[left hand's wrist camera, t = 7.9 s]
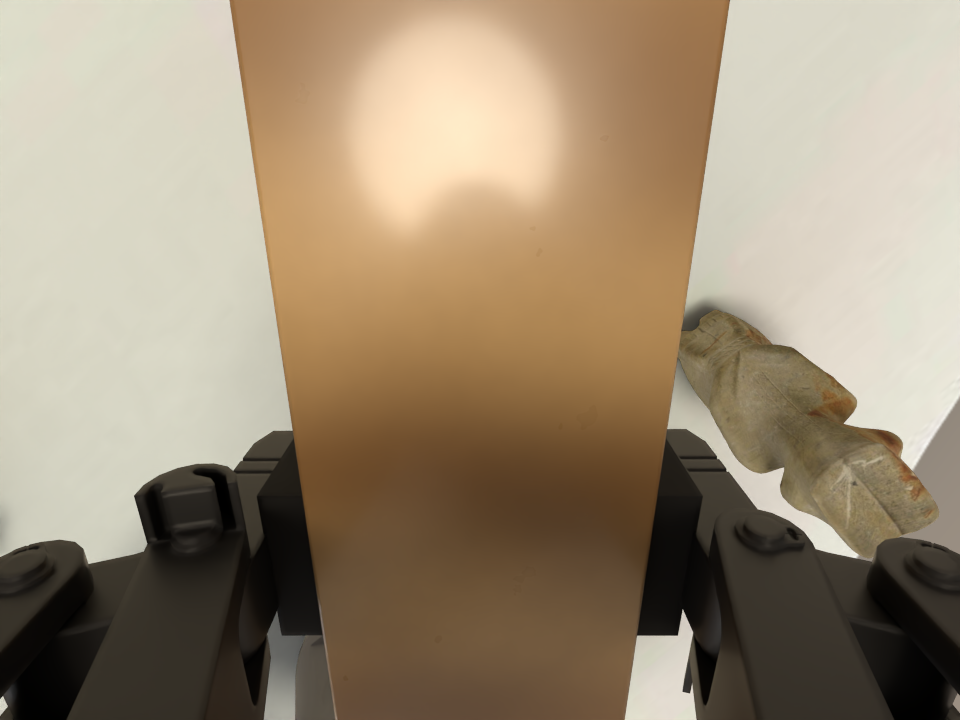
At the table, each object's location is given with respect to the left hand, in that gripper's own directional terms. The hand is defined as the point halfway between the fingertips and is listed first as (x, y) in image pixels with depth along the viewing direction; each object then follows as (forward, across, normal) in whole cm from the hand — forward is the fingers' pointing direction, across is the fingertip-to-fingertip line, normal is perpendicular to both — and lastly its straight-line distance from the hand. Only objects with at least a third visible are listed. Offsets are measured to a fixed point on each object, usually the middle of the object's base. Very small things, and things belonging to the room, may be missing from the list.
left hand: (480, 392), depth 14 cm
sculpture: (+19, -15, +6) cm, 25 cm away
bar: (0, 0, -34) cm, 34 cm away
